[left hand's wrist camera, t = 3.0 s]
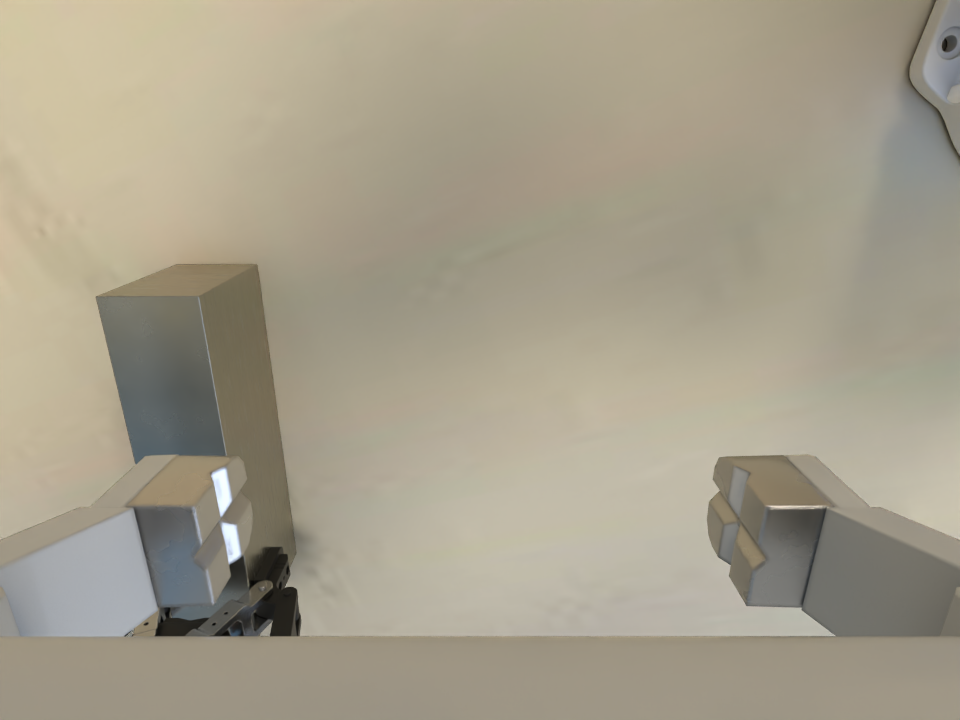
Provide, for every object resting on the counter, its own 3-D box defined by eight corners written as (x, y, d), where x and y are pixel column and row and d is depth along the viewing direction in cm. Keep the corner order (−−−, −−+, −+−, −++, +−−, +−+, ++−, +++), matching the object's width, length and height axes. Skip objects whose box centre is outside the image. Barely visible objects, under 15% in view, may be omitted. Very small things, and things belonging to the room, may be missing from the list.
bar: (175, 264, 39) (94, 296, 31) (257, 264, 39) (198, 296, 31) (229, 553, 47) (176, 639, 39) (296, 553, 47) (258, 639, 39)
